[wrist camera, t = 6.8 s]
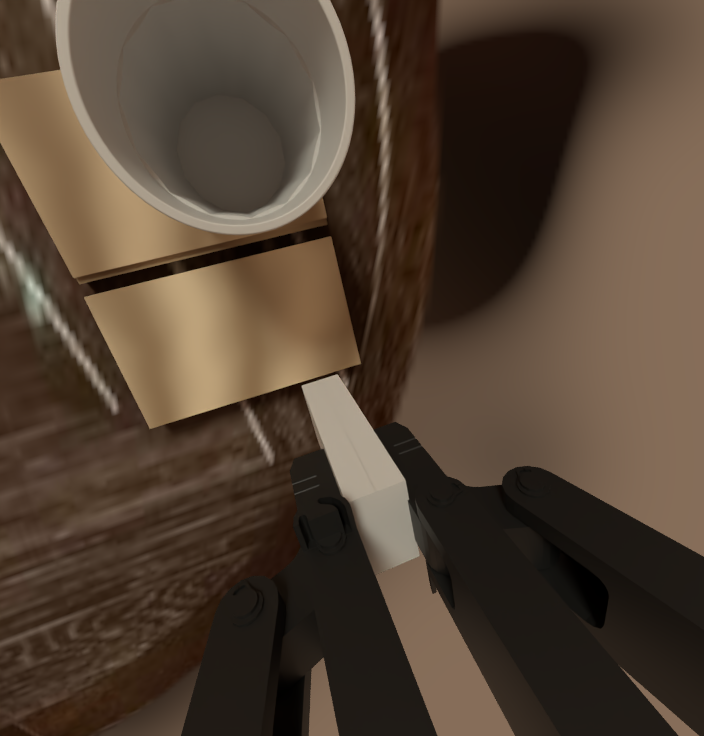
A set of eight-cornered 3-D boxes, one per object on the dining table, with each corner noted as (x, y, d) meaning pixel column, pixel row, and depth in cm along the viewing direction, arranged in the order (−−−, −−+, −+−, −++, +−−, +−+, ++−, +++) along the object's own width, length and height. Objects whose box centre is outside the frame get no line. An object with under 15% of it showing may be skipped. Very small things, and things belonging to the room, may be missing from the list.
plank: (154, 421, 25) (149, 428, 24) (92, 294, 22) (83, 297, 21) (356, 359, 27) (360, 363, 26) (327, 236, 24) (331, 236, 23)
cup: (308, 229, 23) (362, 226, 13) (178, 238, 22) (111, 244, 11) (292, 80, 20) (346, -90, 10) (140, 77, 19) (-3, -138, 8)
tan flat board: (85, 281, 21) (77, 285, 20) (-14, 92, 17) (-32, 83, 16) (324, 224, 24) (328, 224, 23) (284, 45, 20) (286, 35, 19)
